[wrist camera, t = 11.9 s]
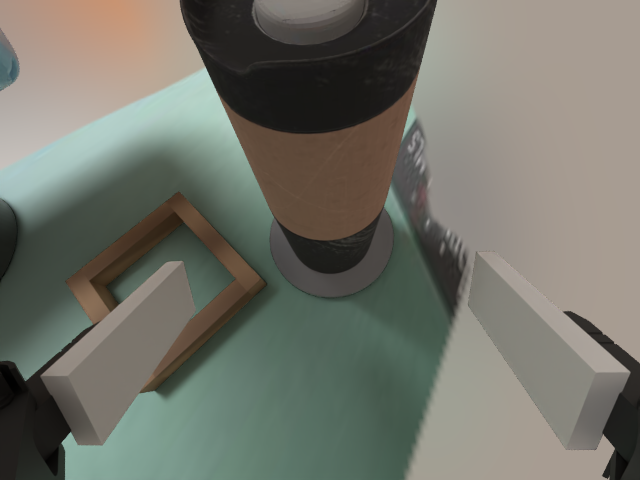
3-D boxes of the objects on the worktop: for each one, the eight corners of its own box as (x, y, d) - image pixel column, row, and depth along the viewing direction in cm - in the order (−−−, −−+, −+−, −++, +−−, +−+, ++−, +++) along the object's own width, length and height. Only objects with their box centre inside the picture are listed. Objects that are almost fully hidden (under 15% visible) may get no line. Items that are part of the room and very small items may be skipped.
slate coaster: (247, 239, 29) (245, 236, 28) (330, 166, 31) (330, 161, 30) (331, 325, 25) (331, 324, 24) (417, 235, 27) (419, 232, 27)
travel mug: (367, 193, 28) (416, -119, 10) (380, 273, 26) (482, 45, 7) (286, 202, 29) (184, -87, 10) (290, 281, 26) (158, 84, 7)
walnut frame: (83, 286, 28) (65, 281, 26) (188, 201, 31) (178, 191, 29) (153, 390, 24) (138, 393, 22) (266, 284, 27) (261, 278, 25)
